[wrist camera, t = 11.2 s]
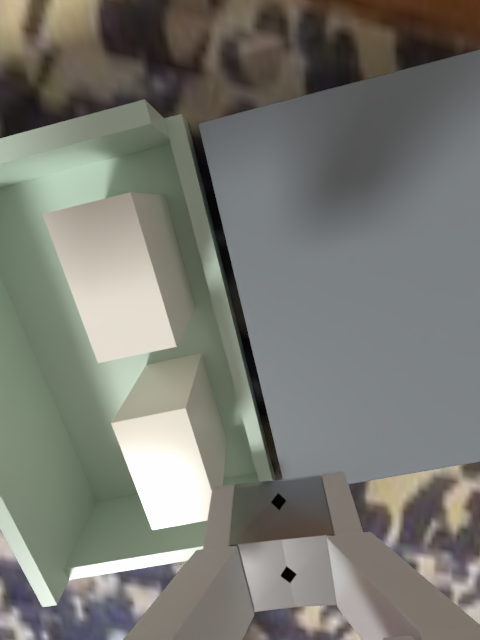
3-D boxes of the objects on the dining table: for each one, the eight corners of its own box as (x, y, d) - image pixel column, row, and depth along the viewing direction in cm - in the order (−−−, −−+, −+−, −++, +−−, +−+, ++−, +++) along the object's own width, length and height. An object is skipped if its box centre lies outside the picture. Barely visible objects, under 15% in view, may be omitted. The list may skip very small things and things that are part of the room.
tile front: (130, 192, 10) (42, 214, 10) (176, 347, 11) (97, 363, 12) (165, 194, 14) (102, 209, 14) (195, 306, 16) (138, 318, 16)
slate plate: (482, 62, 13) (522, 38, 11) (493, 426, 18) (524, 453, 16) (204, 133, 14) (198, 123, 12) (282, 464, 18) (286, 494, 16)
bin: (188, 122, 14) (157, 82, 9) (274, 474, 19) (284, 569, 14) (-47, 184, 15) (-189, 177, 10) (92, 506, 19) (42, 607, 15)
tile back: (185, 408, 12) (111, 423, 12) (220, 518, 13) (152, 529, 13) (201, 352, 16) (146, 364, 16) (226, 440, 18) (175, 450, 18)
